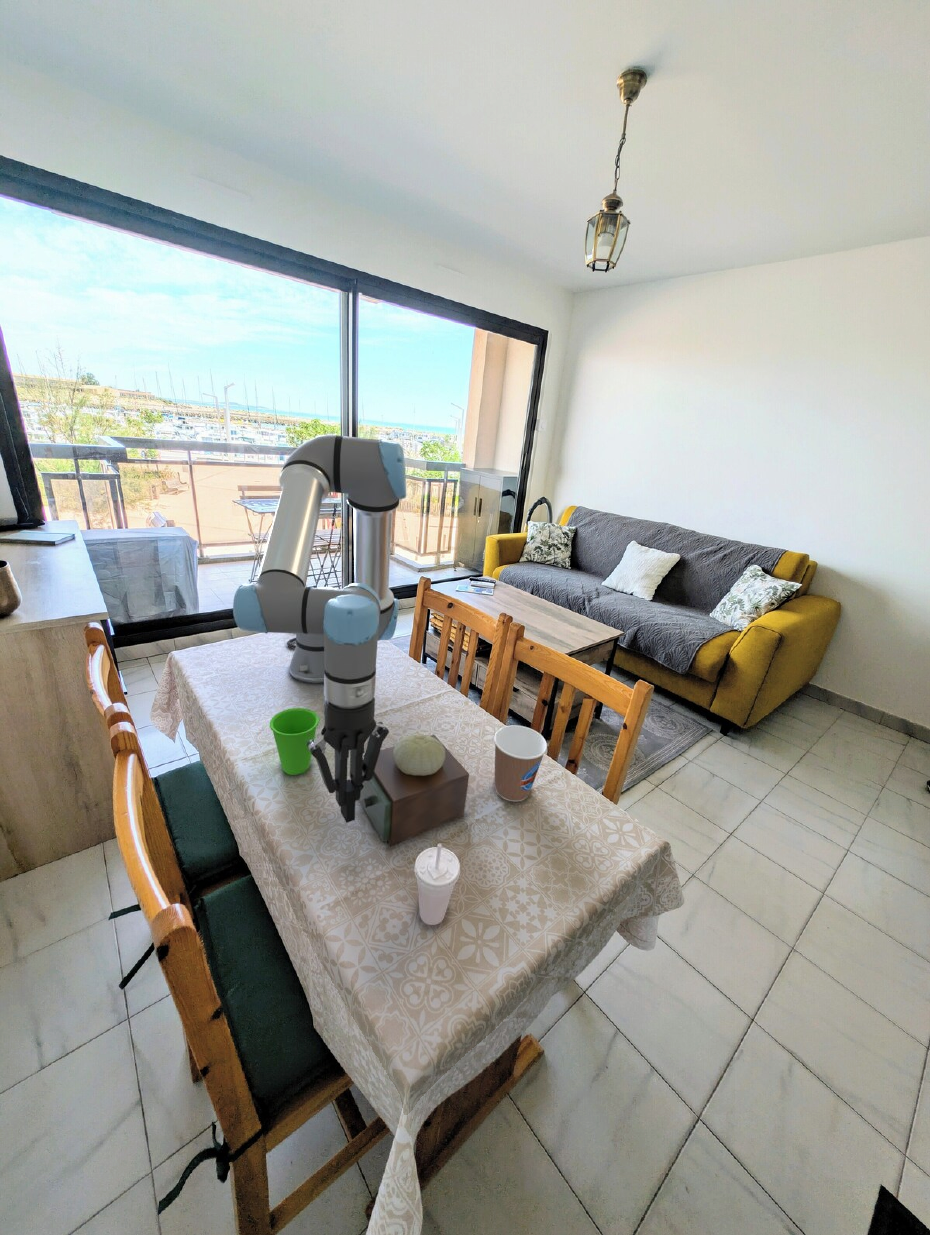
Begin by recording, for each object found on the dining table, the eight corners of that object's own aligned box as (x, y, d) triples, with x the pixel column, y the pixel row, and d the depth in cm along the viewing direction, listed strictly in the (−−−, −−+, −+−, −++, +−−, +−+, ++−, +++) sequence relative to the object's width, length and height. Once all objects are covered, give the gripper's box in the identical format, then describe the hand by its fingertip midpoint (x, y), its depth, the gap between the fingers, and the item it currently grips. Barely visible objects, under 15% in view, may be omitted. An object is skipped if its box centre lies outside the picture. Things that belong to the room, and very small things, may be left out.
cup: (278, 788, 89) (276, 740, 85) (267, 759, 96) (264, 714, 92) (325, 773, 94) (325, 727, 90) (311, 747, 100) (311, 703, 96)
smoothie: (405, 928, 67) (411, 856, 61) (416, 888, 73) (423, 819, 67) (449, 939, 66) (459, 866, 61) (457, 897, 72) (467, 828, 67)
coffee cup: (524, 816, 89) (534, 765, 84) (477, 792, 93) (484, 742, 89) (544, 786, 97) (555, 738, 93) (500, 765, 102) (508, 718, 97)
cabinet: (390, 846, 79) (393, 801, 76) (362, 796, 89) (363, 754, 85) (463, 815, 87) (469, 773, 84) (430, 773, 97) (434, 734, 93)
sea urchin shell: (443, 777, 79) (413, 743, 78) (409, 796, 82) (380, 763, 81) (454, 745, 88) (428, 713, 86) (424, 763, 90) (397, 732, 89)
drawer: (376, 844, 78) (378, 808, 75) (351, 799, 87) (352, 764, 84) (451, 814, 86) (455, 780, 83) (421, 775, 95) (424, 742, 92)
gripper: (314, 720, 65) (316, 846, 74) (399, 699, 72) (392, 817, 81) (299, 693, 71) (302, 814, 79) (379, 677, 78) (374, 789, 86)
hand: (347, 815), depth 80 cm, fingers closed
